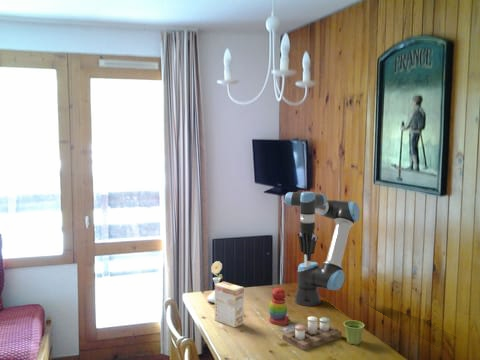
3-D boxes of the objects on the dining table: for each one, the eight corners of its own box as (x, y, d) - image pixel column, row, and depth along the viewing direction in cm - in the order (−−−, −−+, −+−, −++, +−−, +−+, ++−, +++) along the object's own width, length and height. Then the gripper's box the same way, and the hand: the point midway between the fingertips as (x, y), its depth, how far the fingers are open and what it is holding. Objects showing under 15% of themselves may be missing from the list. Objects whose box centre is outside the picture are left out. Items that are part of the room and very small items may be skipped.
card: (299, 323, 231) (299, 322, 231) (307, 327, 226) (307, 325, 226) (278, 329, 223) (278, 328, 223) (286, 333, 218) (286, 332, 218)
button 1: (300, 337, 211) (300, 324, 211) (307, 341, 208) (307, 327, 207) (292, 340, 209) (292, 326, 208) (299, 344, 205) (299, 329, 204)
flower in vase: (204, 299, 266) (204, 258, 264) (222, 297, 270) (221, 256, 268) (212, 306, 254) (212, 263, 252) (230, 303, 258) (230, 261, 257)
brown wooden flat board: (320, 327, 226) (320, 322, 225) (341, 336, 214) (341, 331, 214) (282, 339, 211) (282, 334, 211) (303, 350, 200) (303, 345, 200)
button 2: (324, 330, 221) (324, 316, 220) (331, 333, 217) (331, 319, 216) (317, 332, 218) (317, 318, 217) (324, 335, 214) (324, 322, 213)
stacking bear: (287, 326, 227) (287, 292, 226) (267, 324, 229) (267, 290, 228) (289, 318, 237) (289, 285, 236) (270, 316, 239) (270, 284, 238)
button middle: (312, 329, 216) (312, 315, 215) (319, 332, 212) (319, 318, 211) (305, 331, 213) (305, 317, 213) (312, 335, 209) (312, 320, 209)
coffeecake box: (244, 324, 230) (244, 287, 228) (234, 328, 224) (234, 290, 223) (223, 316, 240) (223, 280, 238) (214, 320, 235) (214, 283, 233)
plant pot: (352, 348, 202) (353, 329, 202) (339, 340, 211) (339, 322, 210) (368, 343, 207) (368, 325, 206) (354, 336, 215) (354, 318, 214)
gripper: (293, 220, 233) (293, 264, 235) (311, 224, 223) (310, 270, 225) (304, 219, 238) (303, 262, 240) (321, 222, 227) (321, 268, 229)
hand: (307, 266), depth 232 cm, fingers closed
